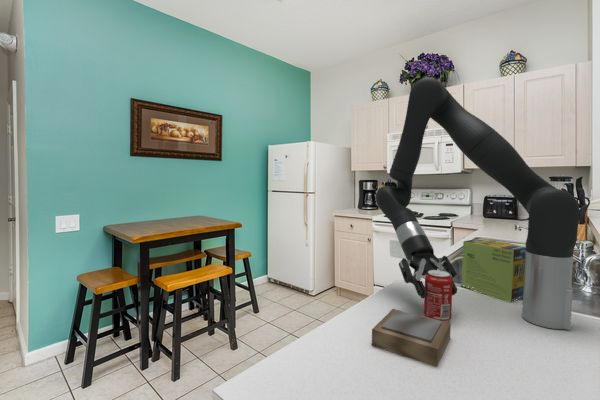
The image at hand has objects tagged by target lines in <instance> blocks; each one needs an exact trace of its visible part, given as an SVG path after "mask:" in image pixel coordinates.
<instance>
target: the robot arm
mask: <svg viewBox="0 0 600 400" xmlns="http://www.w3.org/2000/svg"><path fill="white" fill-rule="evenodd" d="M404 119H405V120H404V125H403V128H402V133H401V135H400V139H399V143H398V146H397V149H396V152H395V156H394V158H393V161H392V163H391V167H390V170H389V177H390V178H391V179H393V180H395V181H396V185H397V186H396V187H395V186H389V185H383V186H381V187H379V188H378V189H377V191H376V195H375V200H376V204H377V206H378V208H379V209H380V210H381V212H382V213H383V214H384V215H385V217H386V218H387V219H388V220H389V221H390V223H391V224H392V227H393V229H394V231H395V234H396V238H397V241H398V243H399V244H400V247H401V249H402V251H403V252H402V253H404V256H405V257H403V258H402V259H401V260H400V261H399V263H398V266H399V270H400V272H401V276H402V277H403V280H404V283H406V284H412V285H413V286H414V288H415V291H416V293H417V295H418V296H419V297H420V299H424V298H425V297H426V296H427V295H428V294H427V291H426V289H425V284H424V282H423V280H421V278H422V277H425V276H426V275H427V274H428V271H430V270H440V271H445V272H448V273H449V274H450V277H451V279H452V281H453V282H452V296H455V295H456V294H458V287H457V285H456V284H455V282H454V280H453V279H454V278H455V277H456V276H457V274H458V273H457V271H456V270H455V268H454V266H453V265H452V263H451V261H450V260H449V258H448V256H447V255H443V256H442V257H438V256H436V255H435V251H434V248H433V247H434V246H433V245H432V243H431V242H430V240H429V238H428V236H427V234H426V232H425V230H424V229H423V227H422V226H421V225H420V222H419V221H418V219H417V217H416V215H415V213H414V212H413V210H412V209H411V208H408V206H409V204H410V202H411V199H412V190H413V189H412V188H413V177H414V174H415V173H416V169H417V166H418V164H419V162H420V157H421V154H422V147H423V141H424V136H425V132H426V129H427V126H428V123H429V122H430V119H431V120H433V121H434V122H435V123H436V124H438V125H439V126H440V127H441V128H442V129H444V130H445V132H446V133H447V134H448V136H449V137H450V138H451V140H452V141H453V143H454V144H455V145H456V146H457V148H458V149H459V150H460V151H461V153H463V155H465V156H466V158H467V159H469V161H471V162H472V164H474V165H475V166H477V168H479V169H480V170H481V171H482V172H484V173H485V174H486V175H488V176H489V178H491V179H493V181H495V182H497V183H499V184H500V185H502V187H504V188H505V189H506V190H507V191H508V192H509V193H510V194H511V195H512V196H513V197H514V198H515V199H516V200H517V202H518V203H519V204H520V205H521V206H522V208H523V209H524V210H525V211H526V213H527V214H528V225H527V236H526V240H525V245H526V248H525V269H524V287H523V298H522V307H521V310H522V311H521V316H522V317H521V318H522V319H524V320H525V321H527V322H528V323H531V324H533V325H535V326H538V327H542V328H548V329H552V330H553V329H555V330H567V331H570V330H571V324H572V322H571V321H572V306H573V305H572V304H573V289H572V282H573V281H572V280H573V279H572V278H573V264H574V250H575V247H576V246H577V240H578V233H579V232H578V231H579V230H578V229H579V219H580V207H579V203H578V200H577V198H576V197H575V196H574V195H573V194H572V193H571V192H568V191H566V190H563V189H559V188H556V187H555V186H554V185H552V184H551V183H549V182H548V181H547V180H545V179H544V178H543V177H541V176H539V174H537V173H536V172H535V171H534V170H533V169H531V167H530V166H529V165H528V164H527V162H526V161H525V160H524V159H523V157H522V156H521V155H520V154H519V152H518V151H517V150H516V149H515V147H514V146H513V145H512V144H511V143H510V142H509V141H508V140H507V139H505V137H503V135H501V134H500V133H499V132H498V131H496V129H494V128H493V127H491V125H489V124H488V123H486V122H485V121H483V120H482V119H481V118H479V117H478V116H476V115H475V114H473V113H471V112H469V111H467V109H466V108H464V107H463V106H462V105H461V104H460V103H459V102H458V100H456V99H455V97H454V96H453V95H452V94H451V93H450V92H449V90H448V89H447V87H446V86H445V85H444V84H443V83H441V82H440V80H438V79H436V78H434V77H423V78H421V79H418V80H417V81H416V82H415V83H414V84H413V85H412V87H411V89H410V92H409V96H408V103H407V108H406V115H405V118H404ZM411 268H412V269H413V270H414V271H413V273H412V270H411Z"/></svg>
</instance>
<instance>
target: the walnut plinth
mask: <svg viewBox="0 0 600 400" xmlns="http://www.w3.org/2000/svg"><path fill="white" fill-rule="evenodd" d="M451 327H452V325H451V322H449V321H448V322H444V321H440V320H436V319H432V318H428V317H426V316H425V315H419V314H415V313H411V312H408V311H404V310H399V309H395V308H392V309H391V310H390V311H389V312H388V313H387V314H386V315H385V316H384V317H383V318H382V319H380V320H379V321H378V322H377V324H375V326H374V327H372V329H371V346H374V347H376V348H380V349H382V350H386V351H388V352H391V353H393V354H397V355H400V356H403V357H405V358H409V359H412V360H415V361H418V362H422V363H424V364H427V365H430V366H433V367H436V368H437V367H438V366H439V363H440V361H441V359H442V356H443V355H444V353H445V350H446V348H447V347H448V344H449V343H450V342H449V341H450V340H451Z"/></svg>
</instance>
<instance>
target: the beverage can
mask: <svg viewBox="0 0 600 400" xmlns="http://www.w3.org/2000/svg"><path fill="white" fill-rule="evenodd" d="M452 280H453V279H451V277H450V274H449V273H448V272H445V271H440V270H439V269H437V270H430V271H428V274H427V275H425V276H424V287H425V289H426V291H427V294H428V295H427V296H426V297H425V298H423V299H424V301H423V303H424V304H423V314H424V315H423V316H424V317H428V318H432V319H436V320H440V321H444V322H448V323H449V321H450V320H451V319H452V308H453V307H452V305H453V303H452V302H453V295H452V282H454V280H453V281H452Z"/></svg>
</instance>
